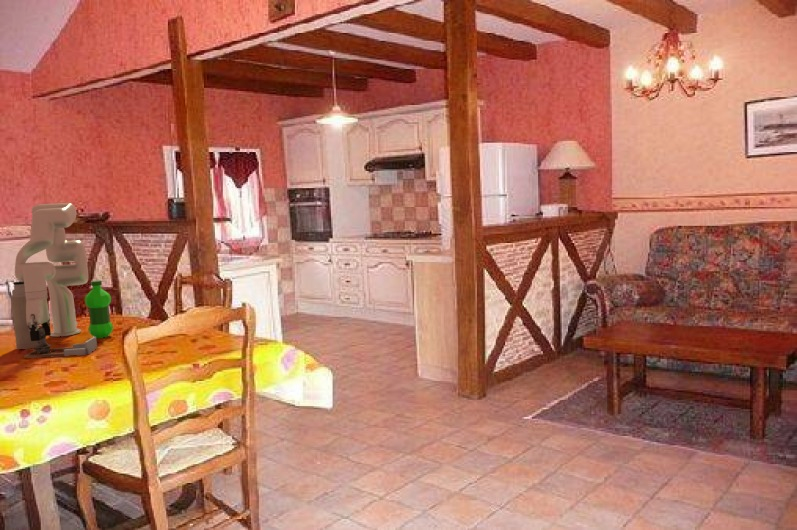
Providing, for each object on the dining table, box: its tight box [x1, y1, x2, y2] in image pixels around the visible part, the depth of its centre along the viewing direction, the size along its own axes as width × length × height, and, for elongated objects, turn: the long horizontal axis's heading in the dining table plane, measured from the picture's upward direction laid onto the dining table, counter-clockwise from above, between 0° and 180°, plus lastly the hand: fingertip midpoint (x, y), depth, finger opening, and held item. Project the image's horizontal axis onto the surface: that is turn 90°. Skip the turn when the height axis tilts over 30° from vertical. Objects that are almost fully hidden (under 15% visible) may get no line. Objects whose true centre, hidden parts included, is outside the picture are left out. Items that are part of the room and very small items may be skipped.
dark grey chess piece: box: [33, 325, 52, 354], centre depth 260 cm, size 6×6×12 cm
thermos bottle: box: [10, 281, 38, 350], centre depth 273 cm, size 8×8×28 cm
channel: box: [23, 346, 73, 360], centre depth 261 cm, size 10×15×1 cm, turn 96°
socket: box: [63, 336, 98, 357], centre depth 261 cm, size 10×9×5 cm
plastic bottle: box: [84, 279, 114, 339], centre depth 288 cm, size 10×10×25 cm
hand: (41, 338), depth 259 cm, fingers open, 9 cm apart
